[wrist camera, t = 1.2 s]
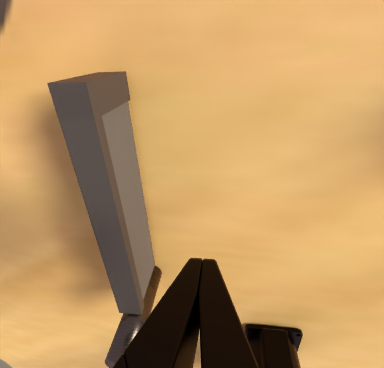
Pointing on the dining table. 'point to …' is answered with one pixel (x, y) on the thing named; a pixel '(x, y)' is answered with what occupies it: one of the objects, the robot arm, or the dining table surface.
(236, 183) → the dining table surface
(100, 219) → the grey long flat bar
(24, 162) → the dining table surface
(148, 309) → the post
